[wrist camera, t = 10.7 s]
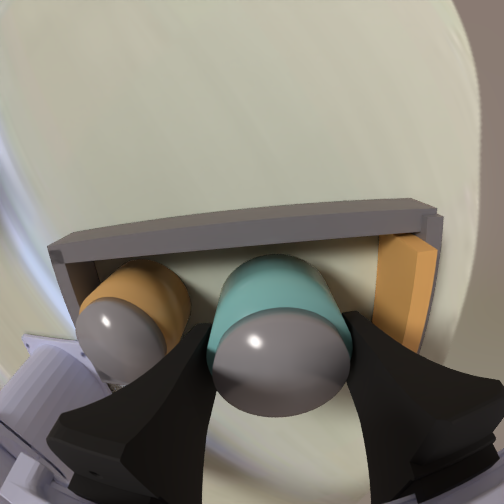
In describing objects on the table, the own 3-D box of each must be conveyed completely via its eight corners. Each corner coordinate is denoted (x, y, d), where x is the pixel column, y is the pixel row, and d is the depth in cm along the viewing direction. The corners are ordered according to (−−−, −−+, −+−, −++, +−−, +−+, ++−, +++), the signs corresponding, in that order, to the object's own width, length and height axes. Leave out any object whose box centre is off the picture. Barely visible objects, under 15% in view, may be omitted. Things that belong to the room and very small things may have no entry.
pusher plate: (385, 328, 15) (411, 372, 11) (370, 331, 15) (393, 376, 11) (396, 223, 13) (437, 249, 9) (379, 225, 13) (417, 252, 9)
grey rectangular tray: (395, 342, 15) (412, 373, 12) (116, 358, 17) (99, 387, 14) (411, 198, 12) (444, 210, 9) (73, 232, 14) (41, 249, 11)
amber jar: (199, 335, 16) (181, 391, 11) (125, 335, 16) (95, 382, 12) (181, 254, 14) (149, 297, 10) (101, 262, 14) (55, 299, 10)
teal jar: (332, 339, 13) (356, 407, 9) (233, 355, 13) (225, 426, 9) (324, 243, 11) (359, 296, 7) (206, 265, 12) (181, 326, 8)
